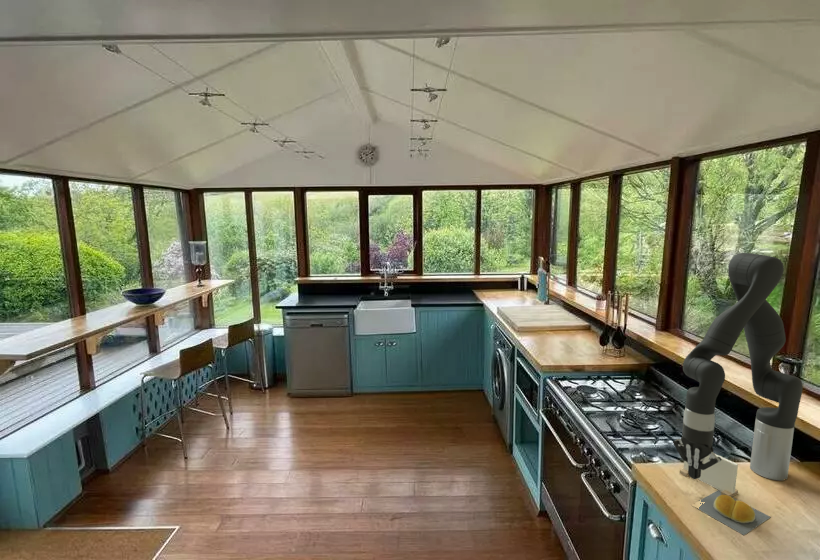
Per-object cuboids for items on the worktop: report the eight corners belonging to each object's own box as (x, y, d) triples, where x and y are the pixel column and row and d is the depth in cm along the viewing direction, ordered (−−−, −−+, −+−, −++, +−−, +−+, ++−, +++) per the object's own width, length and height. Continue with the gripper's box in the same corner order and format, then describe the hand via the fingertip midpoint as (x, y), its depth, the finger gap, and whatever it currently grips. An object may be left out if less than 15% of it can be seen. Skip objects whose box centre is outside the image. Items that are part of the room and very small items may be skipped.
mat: (718, 490, 126) (718, 489, 126) (770, 517, 115) (770, 516, 115) (691, 505, 120) (691, 504, 120) (743, 535, 109) (743, 534, 109)
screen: (688, 468, 137) (691, 440, 136) (737, 493, 125) (741, 462, 123) (679, 473, 135) (682, 444, 134) (728, 498, 123) (732, 467, 121)
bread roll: (751, 529, 110) (753, 515, 110) (710, 512, 117) (712, 499, 116) (757, 514, 116) (759, 501, 115) (718, 498, 123) (719, 486, 122)
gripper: (731, 430, 119) (725, 486, 122) (683, 411, 131) (679, 462, 134) (716, 437, 116) (710, 494, 119) (668, 417, 128) (664, 469, 130)
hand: (693, 477), depth 126 cm, fingers closed
